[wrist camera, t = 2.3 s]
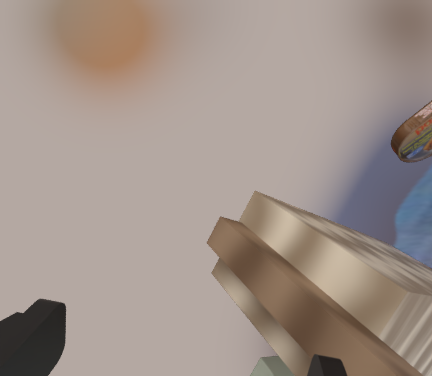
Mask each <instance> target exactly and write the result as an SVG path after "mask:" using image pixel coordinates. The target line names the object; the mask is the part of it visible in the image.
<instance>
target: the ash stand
mask: <svg viewBox="0 0 432 376" xmlns="http://www.w3.org/2000/svg"><path fill="white" fill-rule="evenodd" d="M239 222H241V223H243V224H244V225H245V226H246V227H248V228H249V229H250V230H251V231H252V232H254V233H255V234H256V235H257V236H258V237H259V238H261V239H262V240H263V241H264V242H265V243H267V244H268V245H269V246H270V247H271V248H273V249H274V250H275V251H276V252H277V253H278V254H280V255H281V256H282V257H283V258H284V259H286V260H287V261H288V262H289V263H290V264H292V265H293V266H294V267H295V268H296V269H297V270H299V271H300V272H301V273H302V274H303V275H305V276H306V277H307V278H308V279H309V280H311V281H312V282H313V283H314V284H315V285H316V286H318V287H319V288H320V289H321V290H322V291H324V292H325V293H326V294H327V295H328V296H330V297H331V298H332V299H333V300H334V301H336V302H337V303H338V304H339V305H340V306H341V307H343V308H344V309H345V310H346V311H347V312H349V313H350V314H351V315H352V316H353V317H355V318H356V319H357V320H358V321H359V322H360V323H362V324H363V325H364V326H365V327H366V328H368V329H369V330H370V331H371V332H372V333H374V334H375V335H376V336H377V337H378V338H379V339H381V340H382V341H383V342H384V343H385V344H387V345H388V346H389V347H390V348H391V349H393V350H394V351H395V352H396V353H397V354H398V355H400V356H401V357H402V358H403V359H404V360H406V361H407V362H408V363H409V364H410V365H412V366H413V367H414V368H415V369H416V370H418V371H419V372H420V373H421V374H422V375H423V376H432V269H431V268H430V267H428V266H426V265H424V264H423V263H421V262H419V261H417V260H416V259H414V258H412V257H410V256H408V255H407V254H405V253H403V252H401V251H400V250H398V249H396V248H394V247H393V246H391V245H389V244H387V243H385V242H383V241H381V240H378V239H376V238H373V237H371V236H368V235H365V234H363V233H360V232H358V231H355V230H353V229H350V228H348V227H345V226H343V225H340V224H338V223H335V222H332V221H330V220H328V219H325V218H323V217H320V216H318V215H315V214H313V213H310V212H307V211H305V210H302V209H300V208H297V207H295V206H292V205H290V204H287V203H285V202H282V201H279V200H277V199H274V198H272V197H270V196H267V195H264V194H262V193H259V192H257V191H255V192H254V193H253V195H252V197H251V199H250V201H249V203H248V205H247V207H246V209H245V210H244V212H243V214H242V216H241V218H240V220H239ZM212 274H213V276H214V277H215V278H216V279H217V281H218V282H219V283H220V284H221V286H222V287H223V288H224V289H225V291H226V292H227V293H228V294H229V295H230V297H231V298H232V299H233V300H234V302H235V303H236V304H237V305H238V307H239V308H240V309H241V310H242V311H243V313H244V314H245V315H246V316H247V318H248V319H249V320H250V321H251V322H252V324H253V325H254V326H255V327H256V329H257V330H258V331H259V332H260V334H261V335H262V336H263V337H264V339H265V340H266V341H267V342H268V343H269V345H270V346H271V347H272V348H273V350H274V351H275V352H276V353H277V355H278V356H279V357H280V358H281V359H282V361H283V362H284V363H285V364H286V366H287V367H288V368H289V369H290V371H291V372H292V373H293V374H294V375H295V376H307V374H308V370H309V367H310V364H311V360H312V359H311V358H310V357H309V355H308V354H307V353H306V352H305V351H304V350H303V349H302V348H301V347H300V346H299V344H298V343H297V342H296V341H295V340H294V339H293V338H292V337H291V336H290V334H289V333H288V332H287V331H286V330H285V329H284V328H283V327H282V326H281V325H280V323H279V322H278V321H277V320H276V319H275V318H274V317H273V316H272V315H271V314H270V312H269V311H268V310H267V309H266V308H265V307H264V306H263V305H262V304H261V302H260V301H259V300H258V299H257V298H256V297H255V296H254V295H253V294H252V293H251V291H250V290H249V289H248V288H247V287H246V286H245V285H244V284H243V283H242V282H241V280H240V279H239V278H238V277H237V276H236V275H235V274H234V273H233V272H232V270H231V269H230V268H229V267H228V266H227V265H226V264H225V263H224V262H223V261H222V259H221V258H219V260H218V262H217V263H216V265H215V267H214V269H213V271H212Z"/></svg>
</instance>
